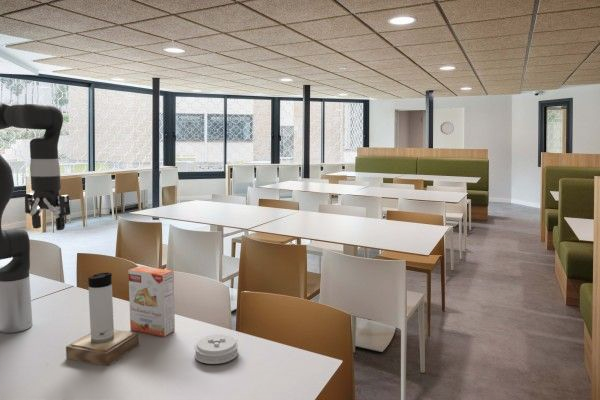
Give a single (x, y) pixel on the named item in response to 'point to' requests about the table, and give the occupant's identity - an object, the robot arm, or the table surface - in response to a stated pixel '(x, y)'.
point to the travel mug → (101, 307)
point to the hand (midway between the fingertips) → (48, 229)
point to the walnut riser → (102, 348)
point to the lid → (216, 349)
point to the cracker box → (151, 300)
